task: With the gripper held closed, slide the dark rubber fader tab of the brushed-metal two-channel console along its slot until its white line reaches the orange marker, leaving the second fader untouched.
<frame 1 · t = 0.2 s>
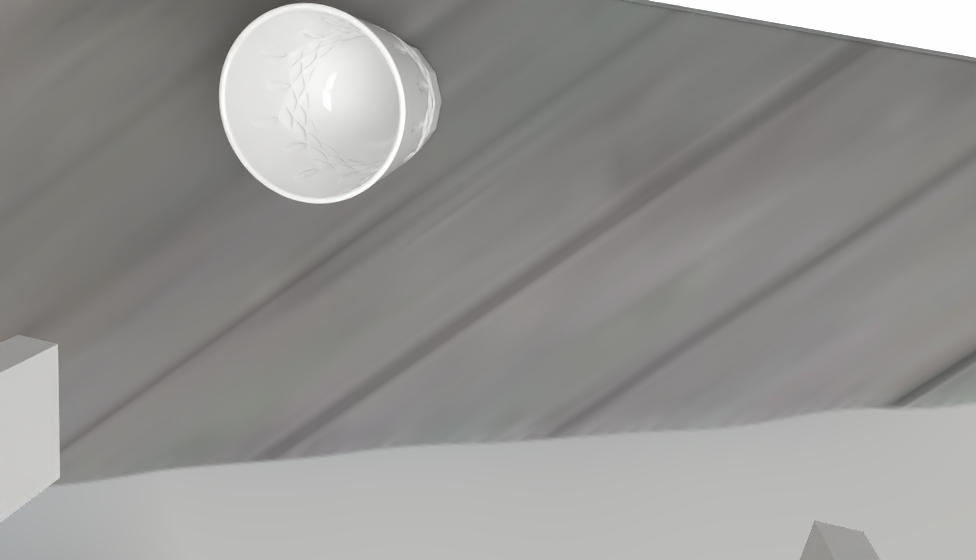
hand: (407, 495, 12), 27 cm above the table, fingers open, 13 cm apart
white cup: (382, 100, 38), on the table
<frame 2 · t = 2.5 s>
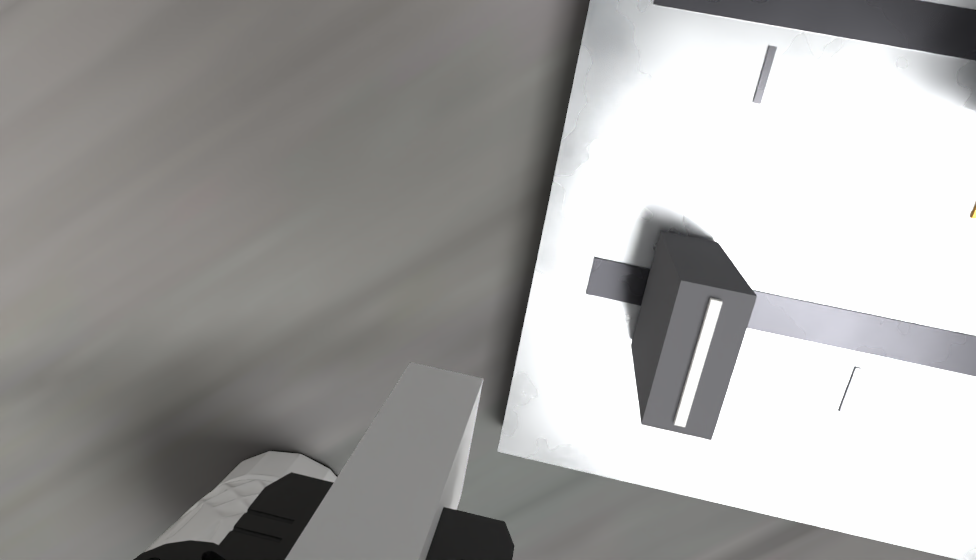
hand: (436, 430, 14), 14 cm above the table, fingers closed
console: (878, 239, 25), on the table
fader tab: (683, 325, 22), point 5 cm above the table, slide at -7.0 cm
white cup: (293, 509, 33), on the table
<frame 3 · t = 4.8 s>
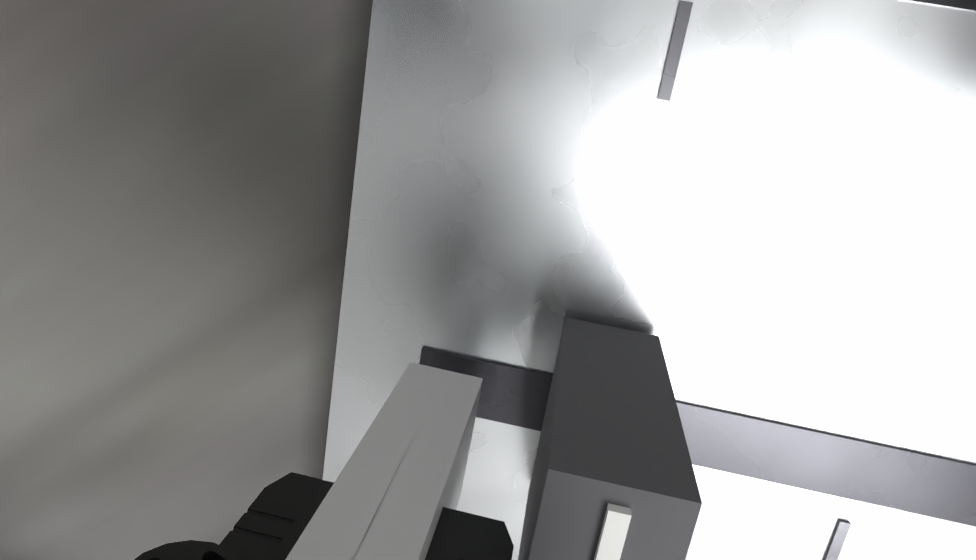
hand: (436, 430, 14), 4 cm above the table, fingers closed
console: (873, 312, 16), on the table
fader tab: (590, 498, 12), point 5 cm above the table, slide at -6.0 cm, touching gripper
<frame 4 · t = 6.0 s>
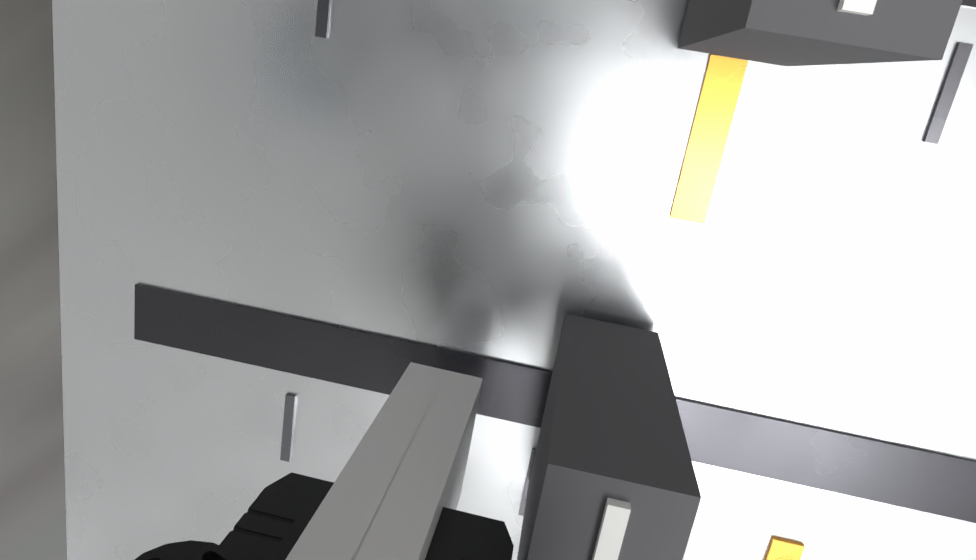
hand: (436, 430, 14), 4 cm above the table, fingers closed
console: (576, 251, 17), on the table
fader tab: (589, 494, 12), point 5 cm above the table, slide at 1.0 cm, touching gripper
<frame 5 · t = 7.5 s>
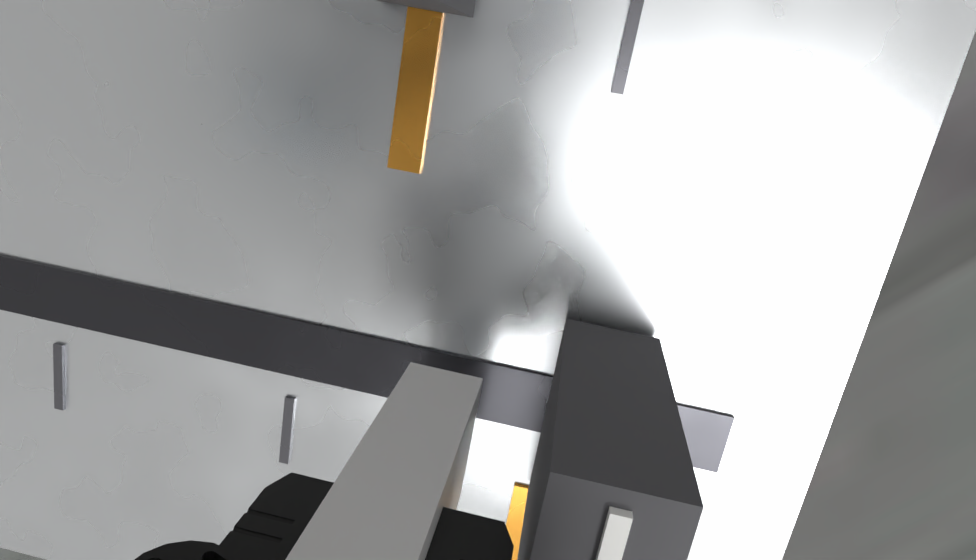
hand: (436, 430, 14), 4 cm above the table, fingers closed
console: (338, 207, 17), on the table
fader tab: (590, 500, 12), point 5 cm above the table, slide at 7.0 cm, touching gripper
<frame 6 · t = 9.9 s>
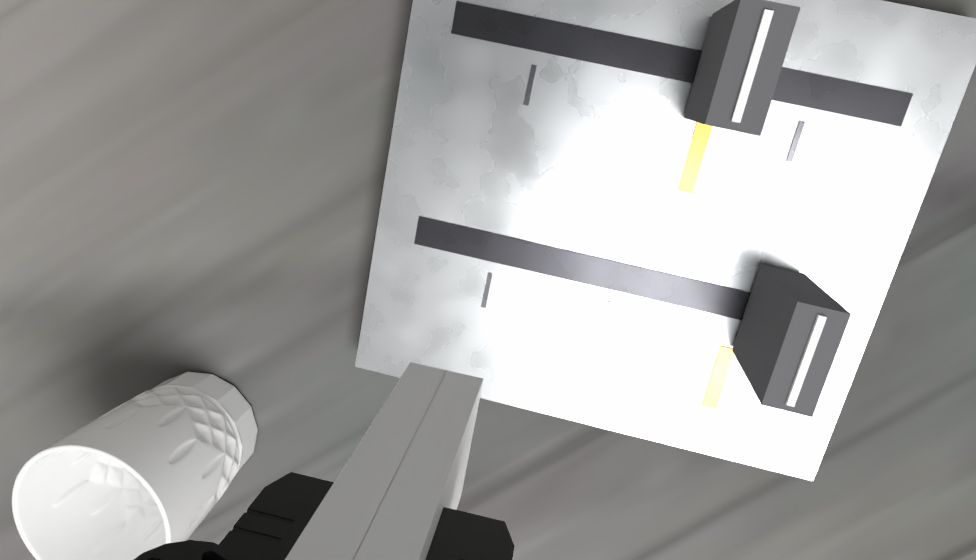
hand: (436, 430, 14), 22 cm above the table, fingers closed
console: (630, 209, 34), on the table
fader tab: (784, 335, 29), point 5 cm above the table, slide at 7.1 cm
fader 2: (734, 69, 27), point 5 cm above the table, slide at 2.0 cm
white cup: (207, 421, 41), on the table
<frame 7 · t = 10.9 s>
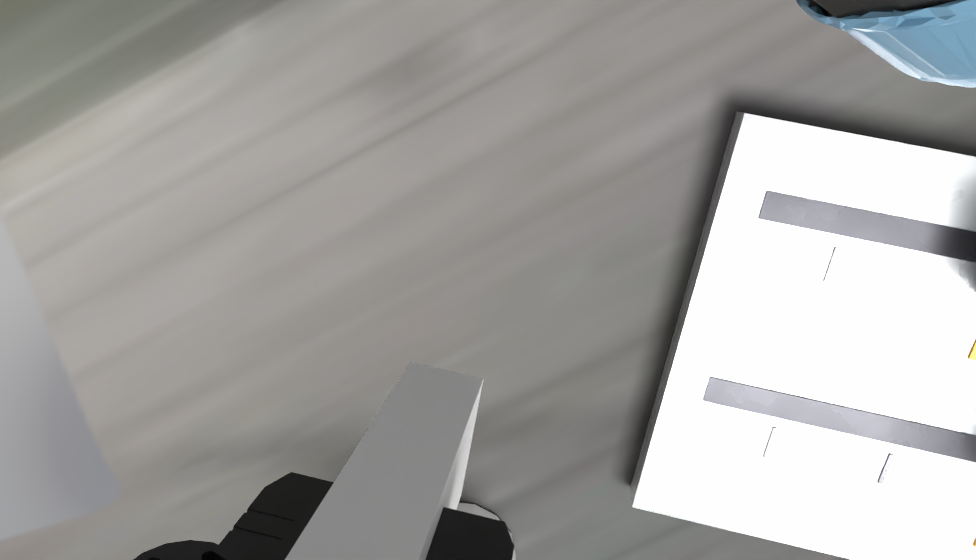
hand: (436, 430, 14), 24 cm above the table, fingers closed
console: (904, 364, 37), on the table
white cup: (463, 544, 44), on the table
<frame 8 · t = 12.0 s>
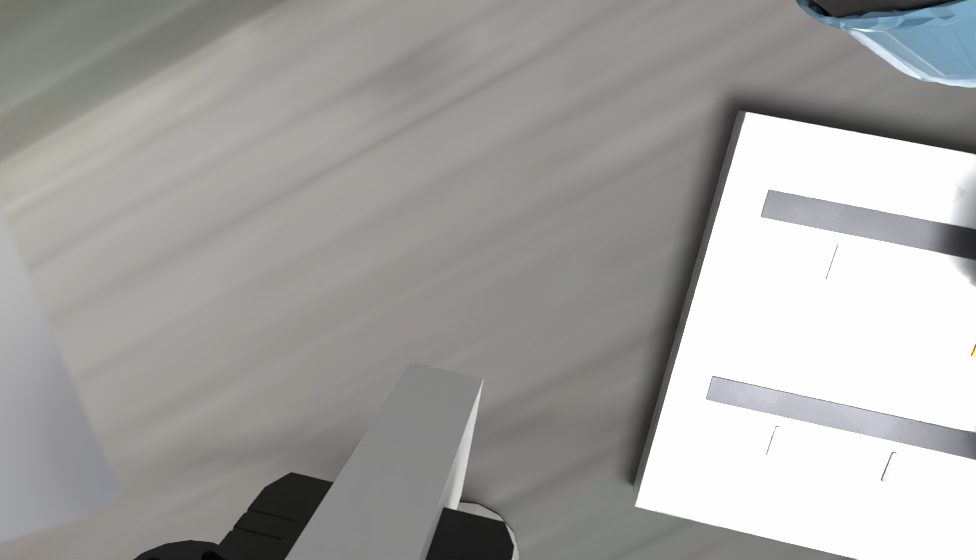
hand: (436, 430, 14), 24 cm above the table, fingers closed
console: (907, 362, 37), on the table
white cup: (466, 544, 44), on the table
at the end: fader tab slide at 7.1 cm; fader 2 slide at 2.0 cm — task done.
